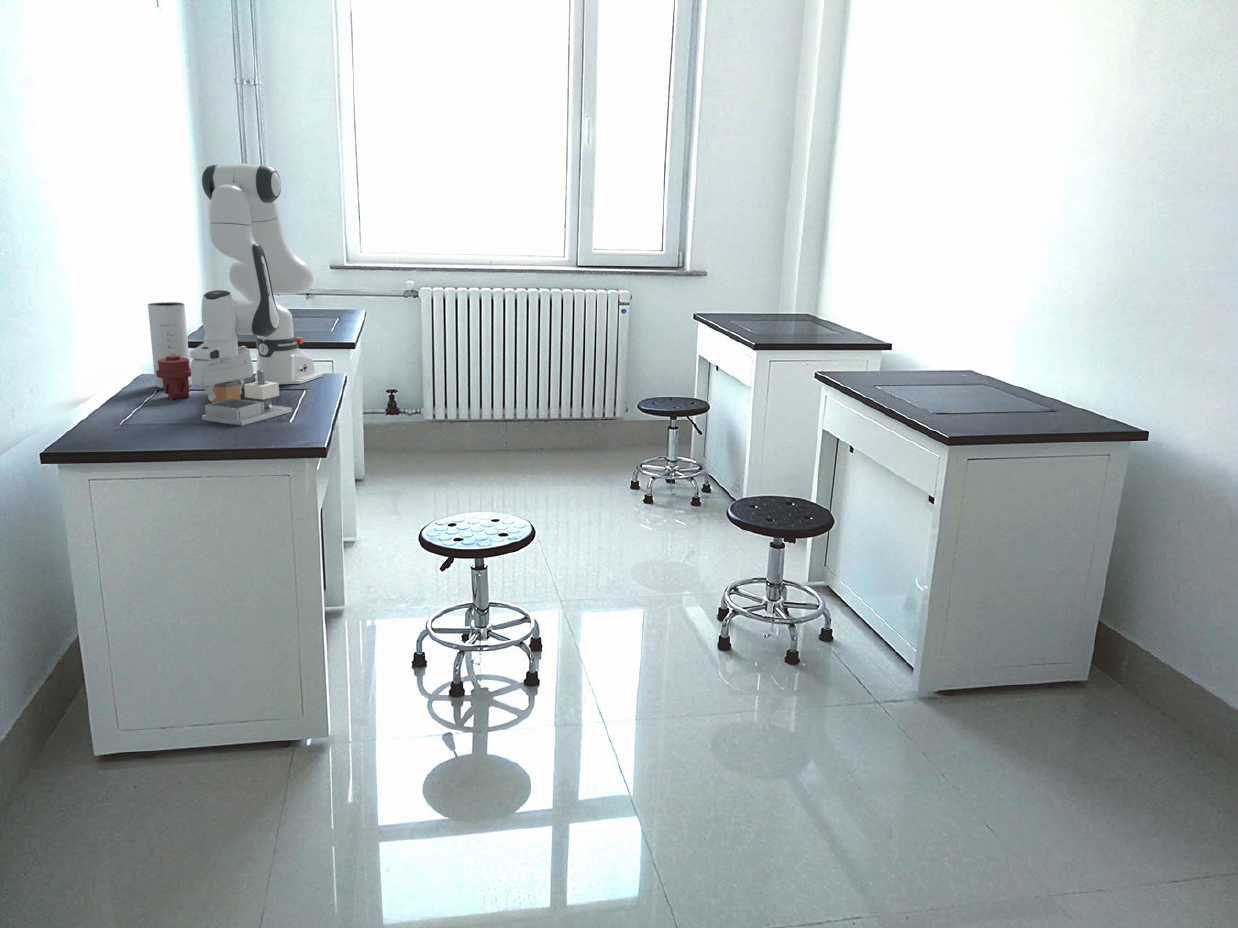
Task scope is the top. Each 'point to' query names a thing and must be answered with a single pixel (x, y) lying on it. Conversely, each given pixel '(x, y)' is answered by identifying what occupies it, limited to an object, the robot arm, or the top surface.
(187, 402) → the top surface
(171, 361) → the mechanical component
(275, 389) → the square housing
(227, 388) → the block
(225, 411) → the chassis
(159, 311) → the speaker
